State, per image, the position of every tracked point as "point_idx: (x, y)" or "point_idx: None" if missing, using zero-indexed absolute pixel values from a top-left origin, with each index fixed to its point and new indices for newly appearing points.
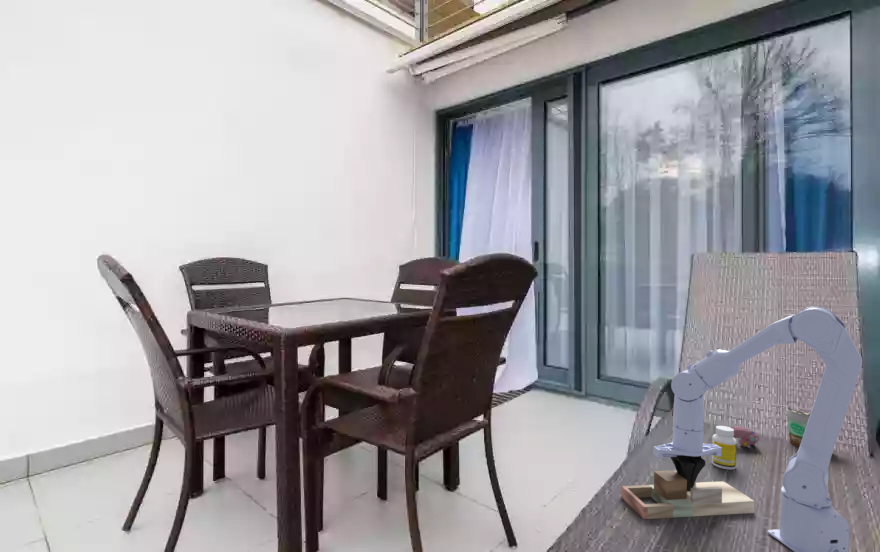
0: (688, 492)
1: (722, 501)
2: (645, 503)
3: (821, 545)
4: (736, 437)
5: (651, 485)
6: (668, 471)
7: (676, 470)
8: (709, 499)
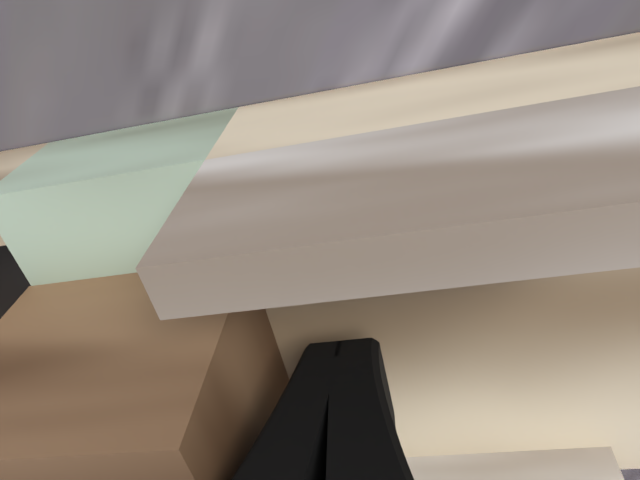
0: (391, 327)
1: (638, 455)
2: (7, 295)
3: None
4: None
5: (9, 211)
6: (86, 476)
7: (327, 243)
8: None
